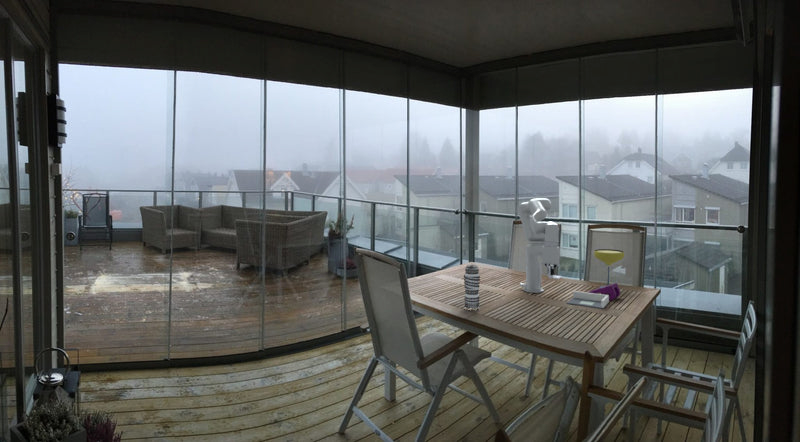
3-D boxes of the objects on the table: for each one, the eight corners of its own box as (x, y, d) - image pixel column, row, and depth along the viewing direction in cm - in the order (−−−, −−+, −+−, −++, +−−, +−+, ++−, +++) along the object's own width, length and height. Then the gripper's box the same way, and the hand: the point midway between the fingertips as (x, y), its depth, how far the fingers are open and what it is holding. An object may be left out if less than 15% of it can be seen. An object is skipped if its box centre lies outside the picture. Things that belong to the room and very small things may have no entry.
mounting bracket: (589, 306, 286) (617, 298, 274) (583, 293, 288) (611, 285, 276) (595, 303, 293) (622, 295, 281) (589, 291, 295) (616, 282, 283)
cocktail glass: (624, 287, 311) (625, 250, 309) (621, 292, 296) (622, 254, 294) (596, 284, 321) (596, 248, 319) (591, 289, 306) (592, 252, 304)
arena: (566, 303, 271) (566, 296, 271) (573, 298, 283) (573, 290, 283) (603, 308, 260) (603, 300, 259) (608, 302, 272) (608, 295, 271)
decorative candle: (467, 311, 257) (467, 267, 255) (461, 307, 266) (461, 264, 264) (482, 310, 260) (482, 266, 258) (475, 305, 269) (475, 263, 267)
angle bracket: (548, 278, 270) (548, 266, 269) (551, 276, 275) (551, 264, 274) (558, 279, 266) (559, 267, 266) (561, 277, 271) (562, 265, 271)
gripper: (536, 244, 271) (535, 274, 273) (562, 246, 263) (562, 277, 264) (540, 242, 278) (540, 272, 279) (566, 244, 269) (565, 275, 271)
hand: (550, 275), depth 272 cm, fingers closed on angle bracket, 1 cm apart
